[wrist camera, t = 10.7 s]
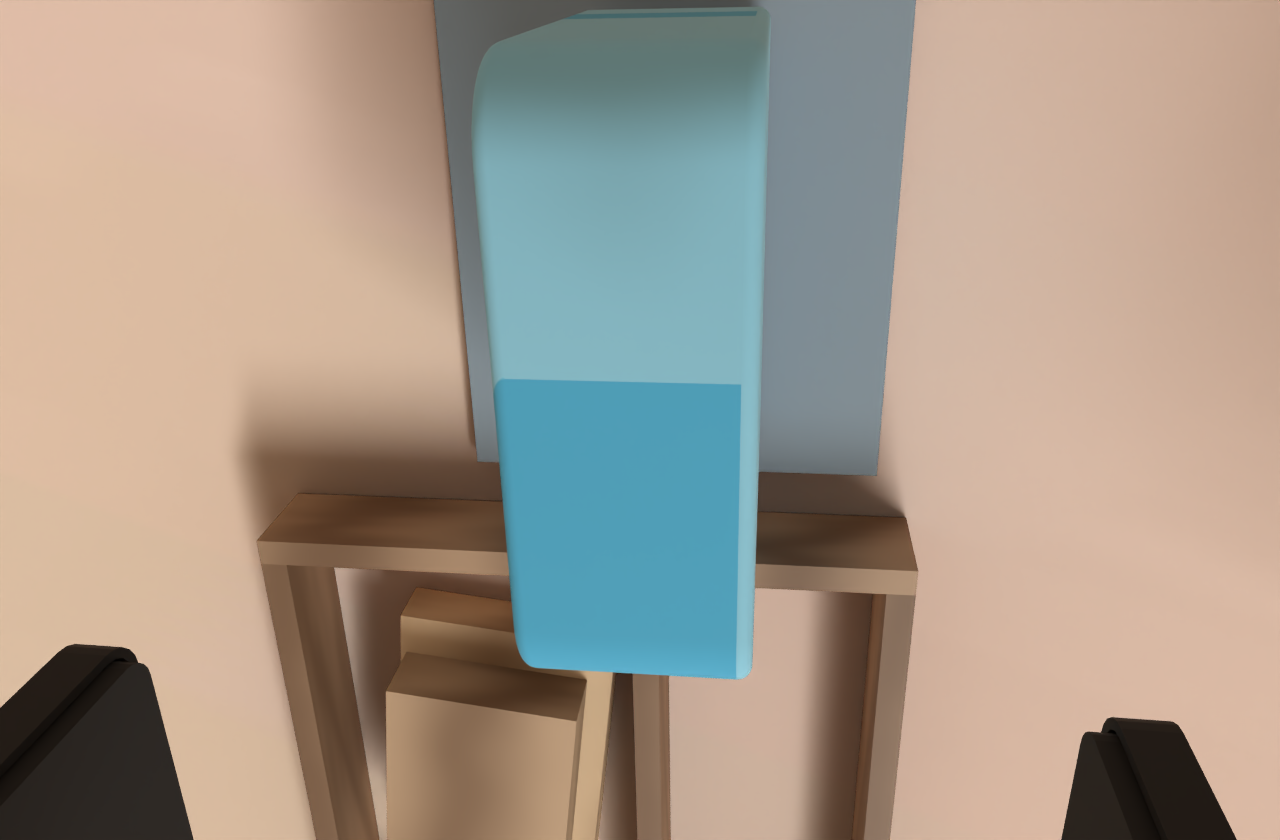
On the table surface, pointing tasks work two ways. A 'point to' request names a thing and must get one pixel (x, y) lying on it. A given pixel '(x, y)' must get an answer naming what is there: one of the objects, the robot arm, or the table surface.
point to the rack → (476, 544)
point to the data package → (627, 331)
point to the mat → (795, 211)
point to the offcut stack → (489, 731)
